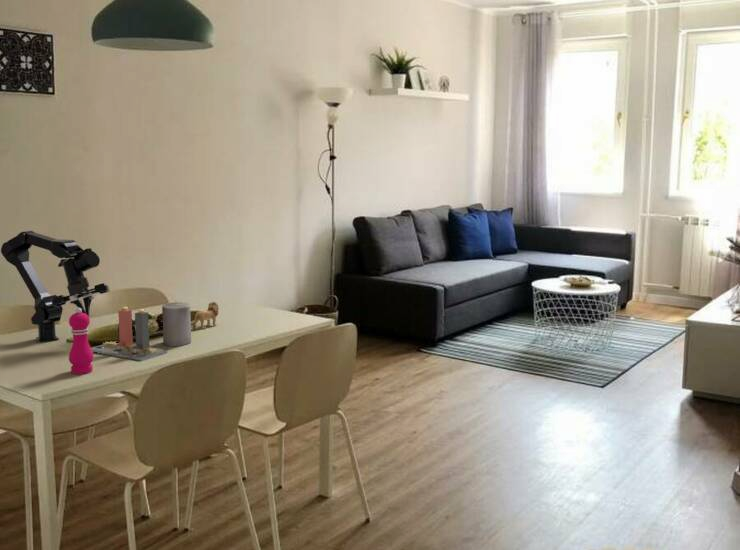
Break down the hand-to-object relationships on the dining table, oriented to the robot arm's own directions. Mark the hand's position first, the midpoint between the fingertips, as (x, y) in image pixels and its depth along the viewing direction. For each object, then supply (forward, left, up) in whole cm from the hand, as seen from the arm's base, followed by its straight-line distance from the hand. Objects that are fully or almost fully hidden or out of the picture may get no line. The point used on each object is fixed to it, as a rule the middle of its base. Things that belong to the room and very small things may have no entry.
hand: (87, 318), depth 279 cm
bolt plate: (+15, +9, -10) cm, 20 cm away
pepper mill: (+31, -11, -10) cm, 34 cm away
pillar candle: (+12, +27, -10) cm, 31 cm away
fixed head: (+21, +11, -8) cm, 25 cm away
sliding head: (+14, +8, -8) cm, 18 cm away
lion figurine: (-7, +46, -10) cm, 48 cm away
